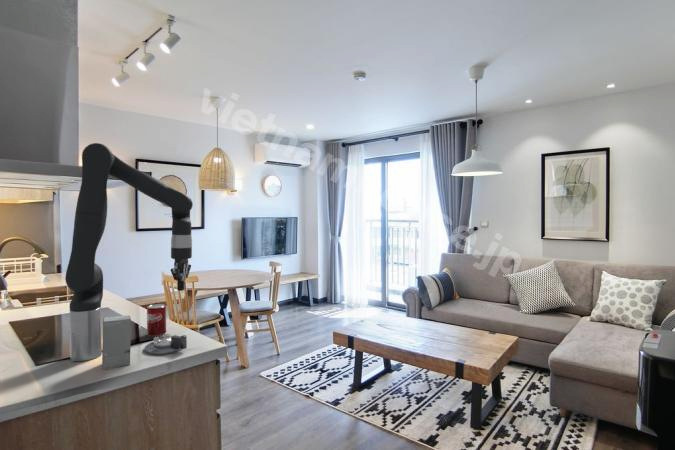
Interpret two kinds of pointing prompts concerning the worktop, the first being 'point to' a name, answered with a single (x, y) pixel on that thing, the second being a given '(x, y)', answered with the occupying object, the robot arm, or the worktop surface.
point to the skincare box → (116, 341)
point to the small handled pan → (170, 341)
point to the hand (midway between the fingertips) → (181, 290)
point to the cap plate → (160, 350)
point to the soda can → (156, 320)
